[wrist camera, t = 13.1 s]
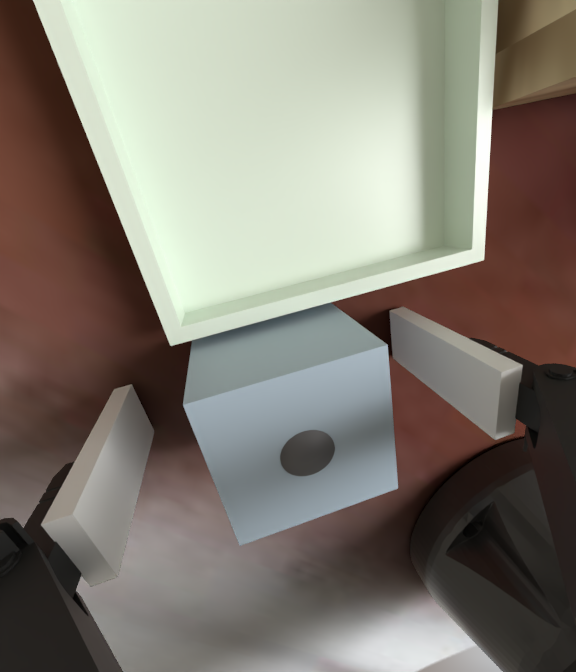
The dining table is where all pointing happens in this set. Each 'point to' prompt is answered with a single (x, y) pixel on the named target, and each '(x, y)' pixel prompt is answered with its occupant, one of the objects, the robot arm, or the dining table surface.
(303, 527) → the dining table surface
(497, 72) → the oak block
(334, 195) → the tray
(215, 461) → the slate-blue block
